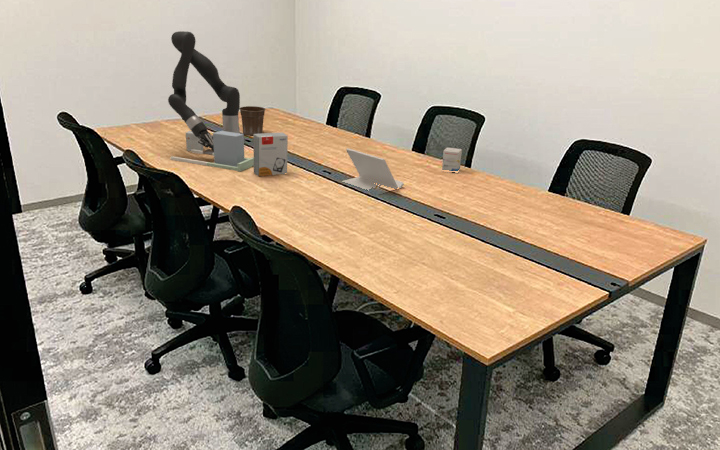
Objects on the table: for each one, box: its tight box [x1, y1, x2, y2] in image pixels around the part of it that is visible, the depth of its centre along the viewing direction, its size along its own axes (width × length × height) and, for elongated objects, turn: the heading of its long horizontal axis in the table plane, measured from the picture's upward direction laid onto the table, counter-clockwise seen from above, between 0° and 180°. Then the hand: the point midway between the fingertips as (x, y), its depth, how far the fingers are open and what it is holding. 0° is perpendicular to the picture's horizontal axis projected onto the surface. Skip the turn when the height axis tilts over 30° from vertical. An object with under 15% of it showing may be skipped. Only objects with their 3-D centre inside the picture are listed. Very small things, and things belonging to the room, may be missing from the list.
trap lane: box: [169, 148, 254, 173], centre depth 311 cm, size 26×44×4 cm, turn 68°
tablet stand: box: [341, 148, 405, 192], centre depth 279 cm, size 18×25×17 cm
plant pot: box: [239, 105, 266, 136], centre depth 370 cm, size 16×16×16 cm
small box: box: [185, 130, 205, 152], centre depth 327 cm, size 8×6×10 cm
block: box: [212, 130, 245, 167], centre depth 303 cm, size 7×14×16 cm, turn 68°
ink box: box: [441, 147, 463, 171], centre depth 309 cm, size 9×8×12 cm
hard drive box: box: [252, 132, 289, 177], centre depth 290 cm, size 16×8×20 cm, turn 117°
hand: (217, 151), depth 307 cm, fingers closed
